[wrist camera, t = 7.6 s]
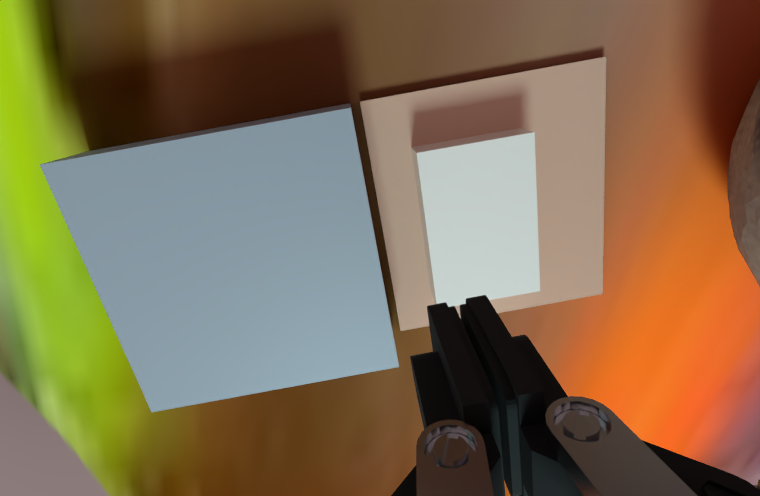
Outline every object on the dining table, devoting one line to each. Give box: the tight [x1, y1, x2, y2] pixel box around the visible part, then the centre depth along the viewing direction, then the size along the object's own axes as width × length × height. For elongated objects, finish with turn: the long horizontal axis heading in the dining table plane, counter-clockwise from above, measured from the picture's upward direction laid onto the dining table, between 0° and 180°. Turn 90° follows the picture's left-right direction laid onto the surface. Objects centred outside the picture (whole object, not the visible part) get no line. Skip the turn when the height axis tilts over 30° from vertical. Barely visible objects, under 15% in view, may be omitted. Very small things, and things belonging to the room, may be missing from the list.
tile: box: [411, 128, 540, 307], centre depth 25 cm, size 9×6×2 cm, turn 9°
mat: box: [360, 57, 606, 331], centre depth 26 cm, size 14×13×1 cm
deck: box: [40, 103, 399, 412], centre depth 24 cm, size 14×14×4 cm
